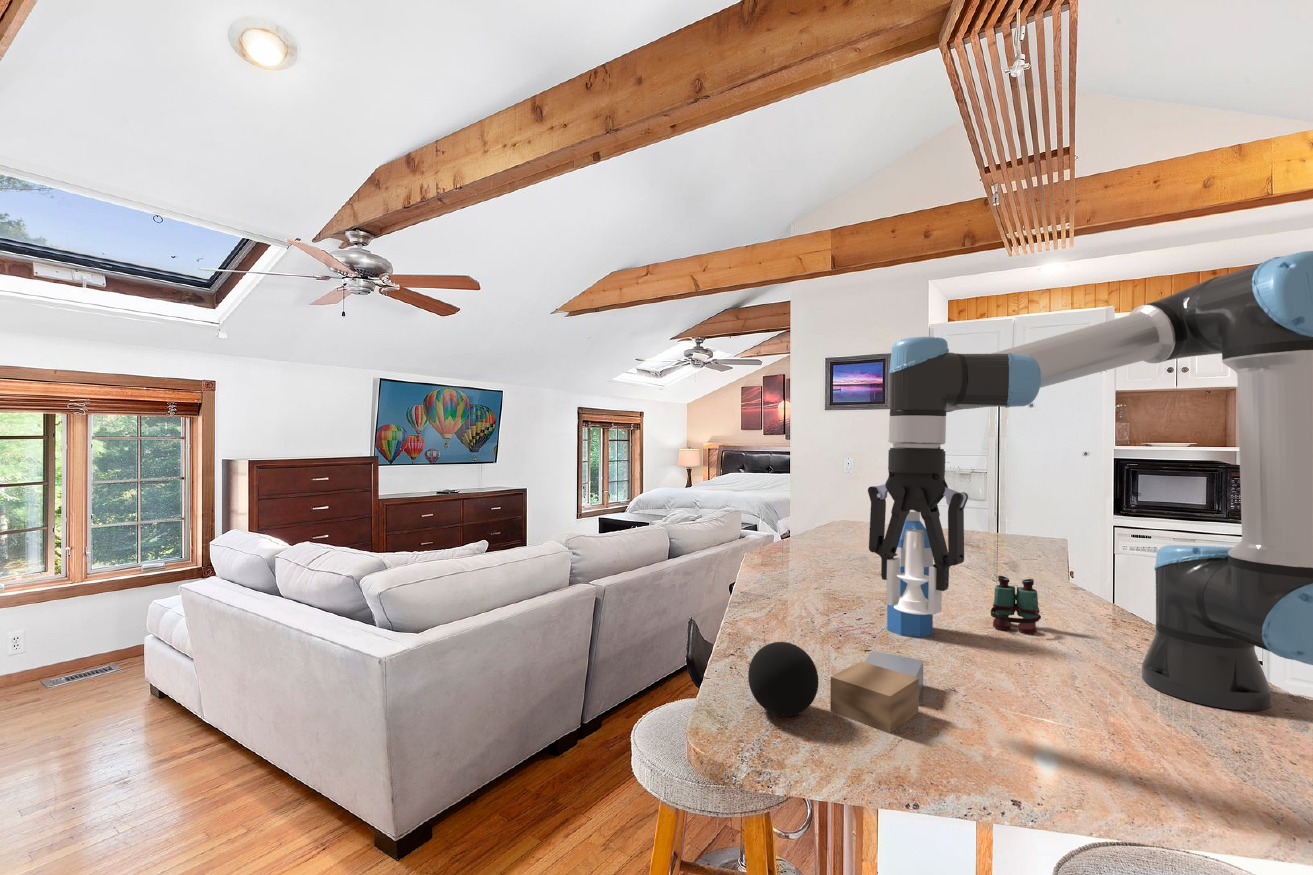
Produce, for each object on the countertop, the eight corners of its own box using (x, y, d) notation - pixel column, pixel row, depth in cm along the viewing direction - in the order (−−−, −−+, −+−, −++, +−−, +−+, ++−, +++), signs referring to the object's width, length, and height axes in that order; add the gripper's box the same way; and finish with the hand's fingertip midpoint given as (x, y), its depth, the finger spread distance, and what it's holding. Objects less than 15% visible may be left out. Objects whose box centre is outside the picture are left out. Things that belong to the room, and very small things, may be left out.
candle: (891, 611, 84) (893, 527, 84) (895, 602, 89) (897, 522, 89) (933, 617, 82) (934, 530, 82) (934, 607, 87) (936, 525, 87)
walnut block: (918, 712, 87) (918, 678, 87) (890, 733, 81) (890, 696, 81) (860, 693, 93) (861, 661, 93) (830, 710, 87) (830, 676, 87)
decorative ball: (833, 717, 85) (833, 647, 85) (781, 735, 80) (782, 661, 80) (783, 692, 94) (783, 628, 94) (734, 707, 88) (734, 639, 88)
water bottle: (940, 629, 125) (940, 510, 125) (924, 640, 118) (924, 514, 118) (895, 620, 131) (895, 506, 131) (878, 630, 124) (878, 510, 124)
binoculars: (989, 585, 123) (992, 572, 131) (990, 635, 124) (992, 618, 132) (1041, 591, 118) (1040, 577, 126) (1041, 643, 119) (1040, 625, 127)
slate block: (923, 684, 96) (923, 660, 97) (915, 703, 90) (915, 676, 90) (872, 674, 101) (872, 650, 101) (860, 691, 94) (860, 665, 94)
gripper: (995, 448, 82) (992, 617, 82) (868, 445, 95) (865, 590, 95) (975, 448, 76) (972, 628, 76) (844, 444, 90) (841, 598, 90)
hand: (913, 607), depth 86 cm, fingers closed on candle, 5 cm apart
